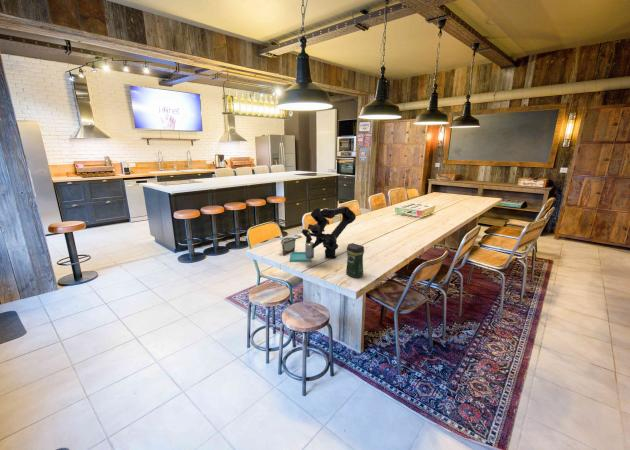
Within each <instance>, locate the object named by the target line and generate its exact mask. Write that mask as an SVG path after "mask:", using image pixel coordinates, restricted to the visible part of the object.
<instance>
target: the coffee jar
mask: <svg viewBox="0 0 630 450" xmlns="http://www.w3.org/2000/svg"><path fill="white" fill-rule="evenodd" d="M364 253H365V247H364V246H363V245H361V244H357V243H354V242H351V243H348V244H347V247H346V254H347V255H346V256H347V260H346V268H345V269H346V270H345V273H346V275H347V276H349V277H353V278H361V277H362V276H363V275H364V262H363V261H364Z"/></svg>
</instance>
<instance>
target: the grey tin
mask: <svg viewBox="0 0 630 450" xmlns="http://www.w3.org/2000/svg"><path fill="white" fill-rule="evenodd" d="M314 243H315V242H312V241H311V242H306V241H305V244H304V246H305V248H304V249H305V251H304V252H305V256H306V258H307V259H311V260H312V259H314V258H315V248H314V249H313V248H312V247H313V245H314Z"/></svg>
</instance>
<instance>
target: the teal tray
mask: <svg viewBox="0 0 630 450" xmlns="http://www.w3.org/2000/svg"><path fill="white" fill-rule="evenodd" d="M289 255H290V256H289V262H290V263H306V262H307V263H310V262H312V259H307V258H306V256H305V251H295V252H291V253H290V254H289Z"/></svg>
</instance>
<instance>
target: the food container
mask: <svg viewBox="0 0 630 450" xmlns="http://www.w3.org/2000/svg"><path fill="white" fill-rule="evenodd" d="M296 241H297V239H296V237H291V236H290V237H284V238H282V239H281V240H280V245H281V248H282V254H283V256H288V255H290V254H291V252H296Z"/></svg>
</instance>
